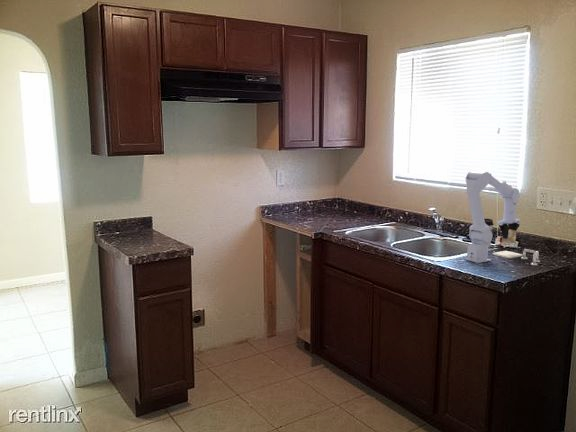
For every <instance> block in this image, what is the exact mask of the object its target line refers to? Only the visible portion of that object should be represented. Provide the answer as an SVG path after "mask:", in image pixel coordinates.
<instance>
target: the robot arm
mask: <svg viewBox="0 0 576 432" xmlns="http://www.w3.org/2000/svg"><path fill="white" fill-rule="evenodd" d="M465 183H466V195H467V200H468V205H469V212H470V215H471V223H472V225H470V226H469V233H468V234H469V235H468V236H469V238H470V241H471V243H470V244H468V246H467V249H466V250H467V251H466V253H467V254H466V258H465V260H467V261H470V262H474V263H477V264H479V263H486V262H491V261H492V259H490V258H488V256H489V255H488V253H489V247H488V243H490V241H492V240H493V231H492V232H491V231H490V227H489V226H488V225H487V224H486V223H485V221H484V219H485V217H484V216H485V215H484V210H483V206H482V199H481V194H480V193H481V192H482V191H484V189H486V187H487V186H488V185H490V186H492V187H494V191H496V192H497V193H499V194H500V195H501V197H502V198H503V199H504V202H503V203H504V204H503V219H501V220H498V221H497V226H498V227H499V228H500V231H501V237H502V236H503V238H504V239H507V237H508V231H509V230H515V231H516V232H517V230H518V229H519V227H520V226H521V220H522V219H521V218H517V217H516V216H517V203H518V202H519V199H520V197H521V196H520V195H521V193H520V190H519V189H518V188H517V187H512V185H510V184H508V183H507V181H505V180H501V181H500V180H498V179H497V178H496V177H494V176H493V175H492V173H489V172H488V171H475V170H470V171H469V172H467V174H466V176H465ZM490 244H491V243H490Z"/></svg>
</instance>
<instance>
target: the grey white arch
mask: <svg viewBox="0 0 576 432" xmlns="http://www.w3.org/2000/svg"><path fill="white" fill-rule="evenodd" d="M527 253H532V254H533V256H532V262H530V266H538V263H541V260H539V256H540V255H539V250H533V249H527V248H523V250H522V254H523V255H522V256H520V259H521V260H528V257H527V256H526V254H527Z"/></svg>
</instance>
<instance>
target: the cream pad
mask: <svg viewBox="0 0 576 432" xmlns="http://www.w3.org/2000/svg"><path fill="white" fill-rule="evenodd" d="M492 255H493V256H497V257H501V258H506V259H514V258H521V257H523V253H517V252H513V251H508V250H502V251H501V250H500V251H496V252H492Z"/></svg>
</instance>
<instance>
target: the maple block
mask: <svg viewBox="0 0 576 432" xmlns="http://www.w3.org/2000/svg"><path fill="white" fill-rule="evenodd" d="M516 239H517V230H516V231H515V230H509V231H508V237H507V239H504V238H503V236H502V235H501V242H502V243H505V244H515V243H516Z"/></svg>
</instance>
